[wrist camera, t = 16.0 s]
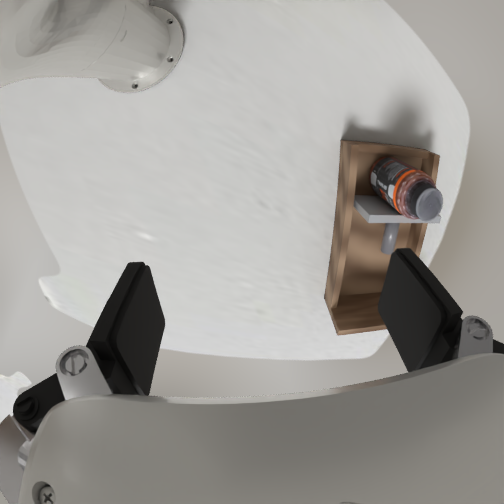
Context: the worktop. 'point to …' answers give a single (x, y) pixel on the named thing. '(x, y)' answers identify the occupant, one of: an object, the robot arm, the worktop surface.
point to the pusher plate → (384, 218)
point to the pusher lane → (365, 237)
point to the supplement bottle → (406, 189)
